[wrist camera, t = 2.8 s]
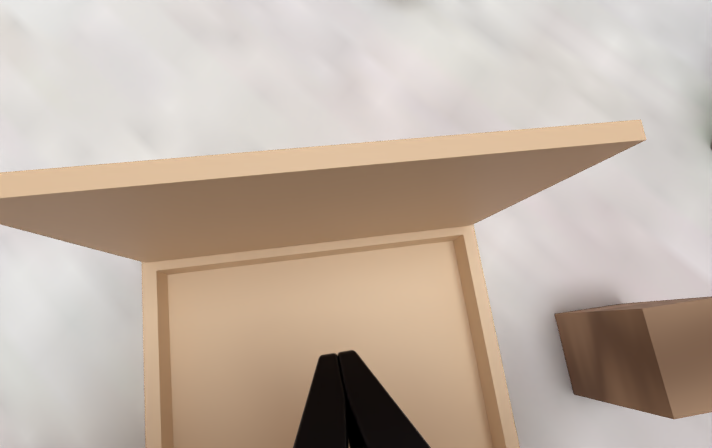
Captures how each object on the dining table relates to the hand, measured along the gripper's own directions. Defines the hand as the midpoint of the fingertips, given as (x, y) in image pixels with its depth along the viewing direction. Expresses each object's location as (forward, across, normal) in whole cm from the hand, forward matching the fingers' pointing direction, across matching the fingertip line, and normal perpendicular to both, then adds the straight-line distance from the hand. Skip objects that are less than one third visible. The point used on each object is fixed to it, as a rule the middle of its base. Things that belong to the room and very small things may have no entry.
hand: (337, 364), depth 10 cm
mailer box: (+7, 0, +8) cm, 11 cm away
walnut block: (+6, -14, +9) cm, 18 cm away
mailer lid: (+5, 0, -1) cm, 5 cm away
